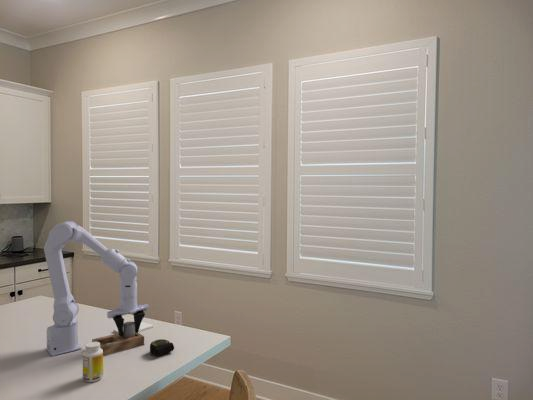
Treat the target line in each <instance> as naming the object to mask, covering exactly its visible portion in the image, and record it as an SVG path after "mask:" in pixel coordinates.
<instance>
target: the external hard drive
mask: <svg viewBox="0 0 533 400" xmlns="http://www.w3.org/2000/svg"><path fill="white" fill-rule="evenodd" d="M151 329H154V326H153V324H150V323H147V322H144V321H142V322H141V324H140V328H139V333H142V332H144V331H147V330H151ZM112 331H113V333H114V334H117V333H119V332H118V328H116V329H113V330H112ZM141 331H142V332H141Z"/></svg>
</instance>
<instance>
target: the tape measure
mask: <svg viewBox="0 0 533 400" xmlns="http://www.w3.org/2000/svg"><path fill="white" fill-rule="evenodd" d="M174 350H175V346H174V343H173V342H170V341H169V340H167V339H156V340H154V341H151V343H150V344H149V353H150V354H151V355H153V356H162V355H165V354H168V353H171V352H173V351H174Z"/></svg>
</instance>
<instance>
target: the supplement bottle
mask: <svg viewBox="0 0 533 400" xmlns="http://www.w3.org/2000/svg"><path fill="white" fill-rule="evenodd" d="M84 349H85V350H84V351H83V352H82V380H83V381H84V382H86V383H94V382H99V381H100V380H101V379H102V378H103V377H104V356H103V350H102V349H101V348H100V343H99V342H92V341H91V342H87V343H86V344H85V348H84Z"/></svg>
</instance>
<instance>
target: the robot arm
mask: <svg viewBox="0 0 533 400" xmlns="http://www.w3.org/2000/svg"><path fill="white" fill-rule="evenodd" d="M69 241H71V242H72V243H82V244H83V245H85V246H86V247H88V248H89V249H90V250H92V251H93V252H95V253H97V254H98V255H99V256H100V258H101V259H100V260H101V262H102V263H103V264H105V265H106V266H107V267H108V268H110V269H111V270H113V271H114V272H115V273H118V277H119V279H120V284H119V291H120V292H119V294H120V295H119V304H120V305H119V306H120V307H118V308H116V309H113V310H110V311H107V312H106V314H107V316H106V317H107V318H108V319H113V321H114V324H115V325H116V329H118V332H119V336H121V337H122V336H123V324H124V323H125V318H123V316H125V315H131V314H132V315H133V322H135V332H136V333H138V332H139V328H140V324H141V322H143V319H144V317H146V313H145V311H146V312H147V311H148V312H149V311H150V305H149V304H147V303H145V304H138V282H137V280H138V278H137V273H138V265H137V264H136V263H135V261H133V260H131V259H130V258H127V257H125V256H124V255H123V254H121V253H120V250H119V249H117V248H116V249H115V248H107V247H106V246H105V245H104V244H103V243H101V242H100V241H99V240H98V239H97V238H96V237H94V236H93V235H92V234H91V233H90V232H89V231H87V230H86V229H85V228H84V227H82V226H81V225H78V224H77V223H76V222H75V221H72V220H65V221H63V222H59V223H57V224H55V226H53V227H52V229H51V230H49V233H48V236H47V239H46V241H45V244H44V247H43V251H44V257H45V261H46V267H47V270H48V274H49V279H50V283H51V288H52V293H53V297H54V300H53V315H52V321H53V323H54V324H52V325H50V326H47V327H46V350H47V351H48V353H49V355H51V356H52V357H54V356H58V355H62V354H65V353H71V352H73V351H77V350H82V346H81V344H79V335H78V334H79V333H78V332H79V331H78V330H79V329H78V328H79V325H78V324H79V323H78V322H79V320H78V318H77V317H76V316H77V315H78V313H79V309H80V308H79V304H77V302H76V301H75V299H74V295H73V294H72V293H71V289H70V285H69V279H68V274H67V270H66V266H65V261H64V257H63V251H62V249H63V248H64V247H65V246H66V245H67V243H68V242H69ZM139 333H140V332H139Z"/></svg>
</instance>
